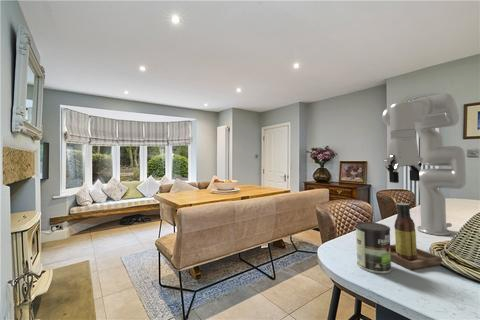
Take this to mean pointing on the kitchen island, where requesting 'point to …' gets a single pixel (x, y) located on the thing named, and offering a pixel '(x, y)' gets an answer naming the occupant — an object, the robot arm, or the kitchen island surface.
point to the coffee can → (373, 247)
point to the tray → (420, 262)
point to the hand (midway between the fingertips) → (404, 181)
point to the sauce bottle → (405, 233)
